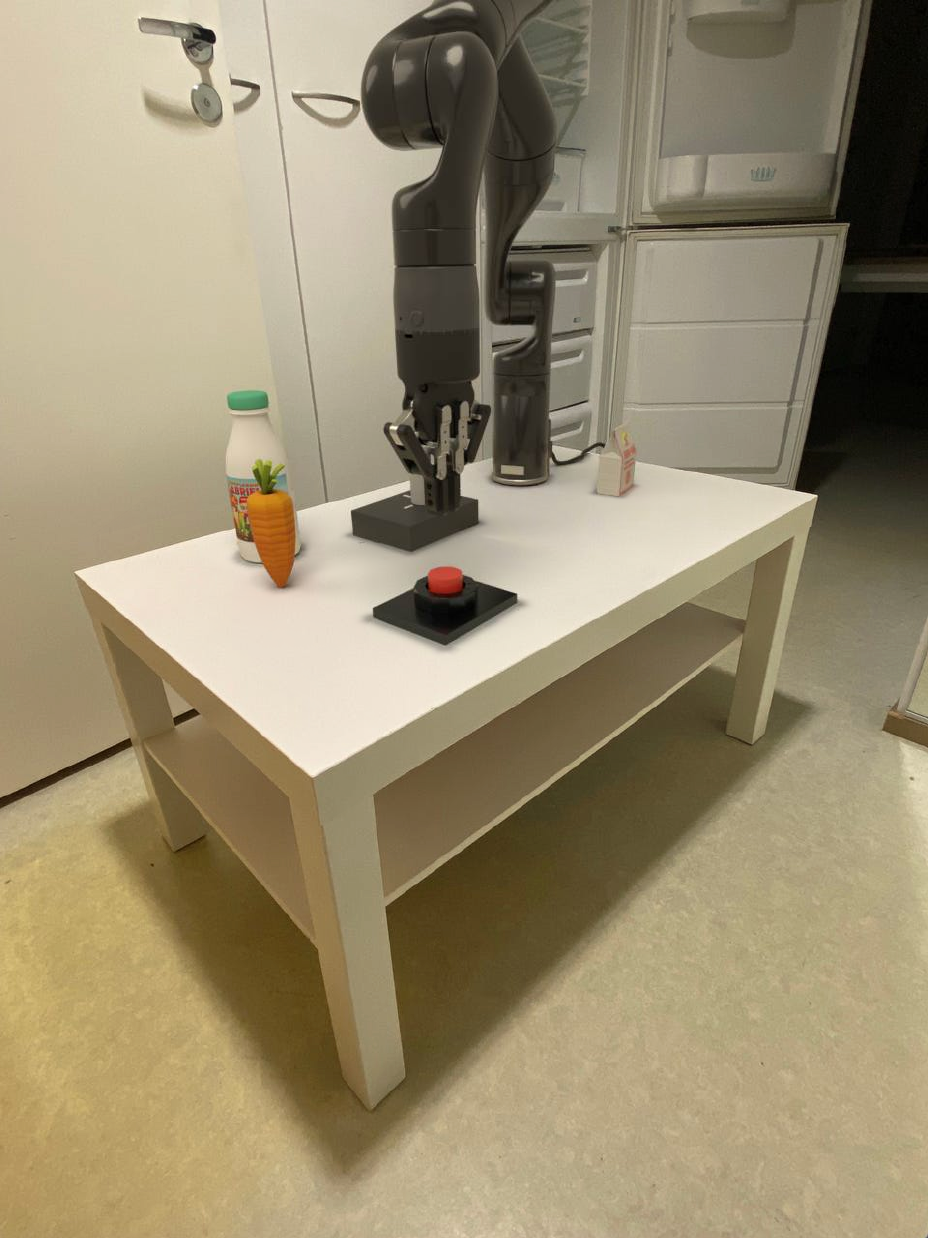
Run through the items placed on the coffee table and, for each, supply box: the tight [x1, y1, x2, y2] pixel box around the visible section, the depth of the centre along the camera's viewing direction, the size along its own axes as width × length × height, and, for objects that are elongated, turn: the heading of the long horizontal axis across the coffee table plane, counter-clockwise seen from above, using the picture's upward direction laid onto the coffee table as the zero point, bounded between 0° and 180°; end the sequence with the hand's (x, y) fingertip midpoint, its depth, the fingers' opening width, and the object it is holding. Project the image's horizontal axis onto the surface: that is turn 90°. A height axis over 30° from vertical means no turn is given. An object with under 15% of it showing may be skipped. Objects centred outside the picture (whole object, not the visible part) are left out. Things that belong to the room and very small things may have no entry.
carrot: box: [246, 459, 296, 589], centre depth 77 cm, size 5×5×15 cm
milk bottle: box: [225, 389, 301, 564], centre depth 86 cm, size 8×8×20 cm
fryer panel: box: [350, 489, 480, 553], centre depth 97 cm, size 14×11×4 cm
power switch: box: [372, 574, 518, 646], centre depth 74 cm, size 12×10×3 cm
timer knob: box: [408, 461, 434, 505], centre depth 96 cm, size 4×4×5 cm
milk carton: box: [596, 422, 638, 497], centre depth 111 cm, size 4×7×10 cm, turn 149°
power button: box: [427, 566, 464, 594], centre depth 73 cm, size 4×4×2 cm
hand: (443, 511), depth 70 cm, fingers closed
